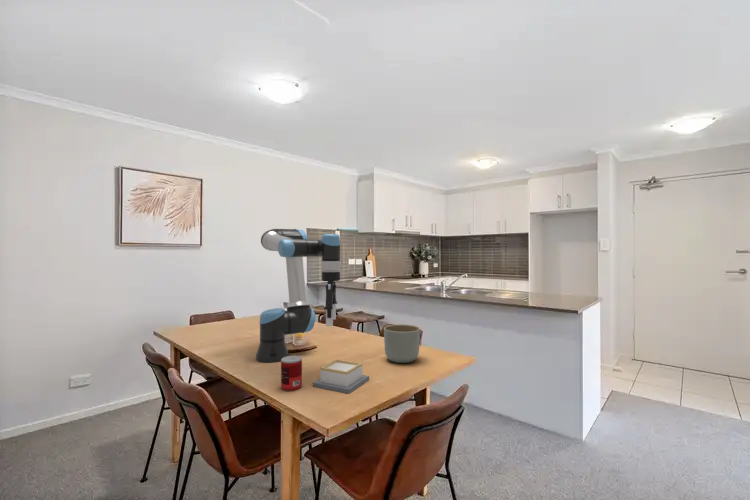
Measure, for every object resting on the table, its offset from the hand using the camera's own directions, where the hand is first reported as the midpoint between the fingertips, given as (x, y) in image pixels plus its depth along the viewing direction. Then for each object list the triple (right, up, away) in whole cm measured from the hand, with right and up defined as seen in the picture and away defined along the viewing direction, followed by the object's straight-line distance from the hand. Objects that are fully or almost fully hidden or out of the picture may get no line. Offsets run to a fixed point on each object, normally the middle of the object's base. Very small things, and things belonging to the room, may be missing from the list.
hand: (331, 322), depth 151 cm
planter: (+31, -22, +22) cm, 44 cm away
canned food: (-14, -22, -12) cm, 29 cm away
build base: (+5, -22, -8) cm, 24 cm away
